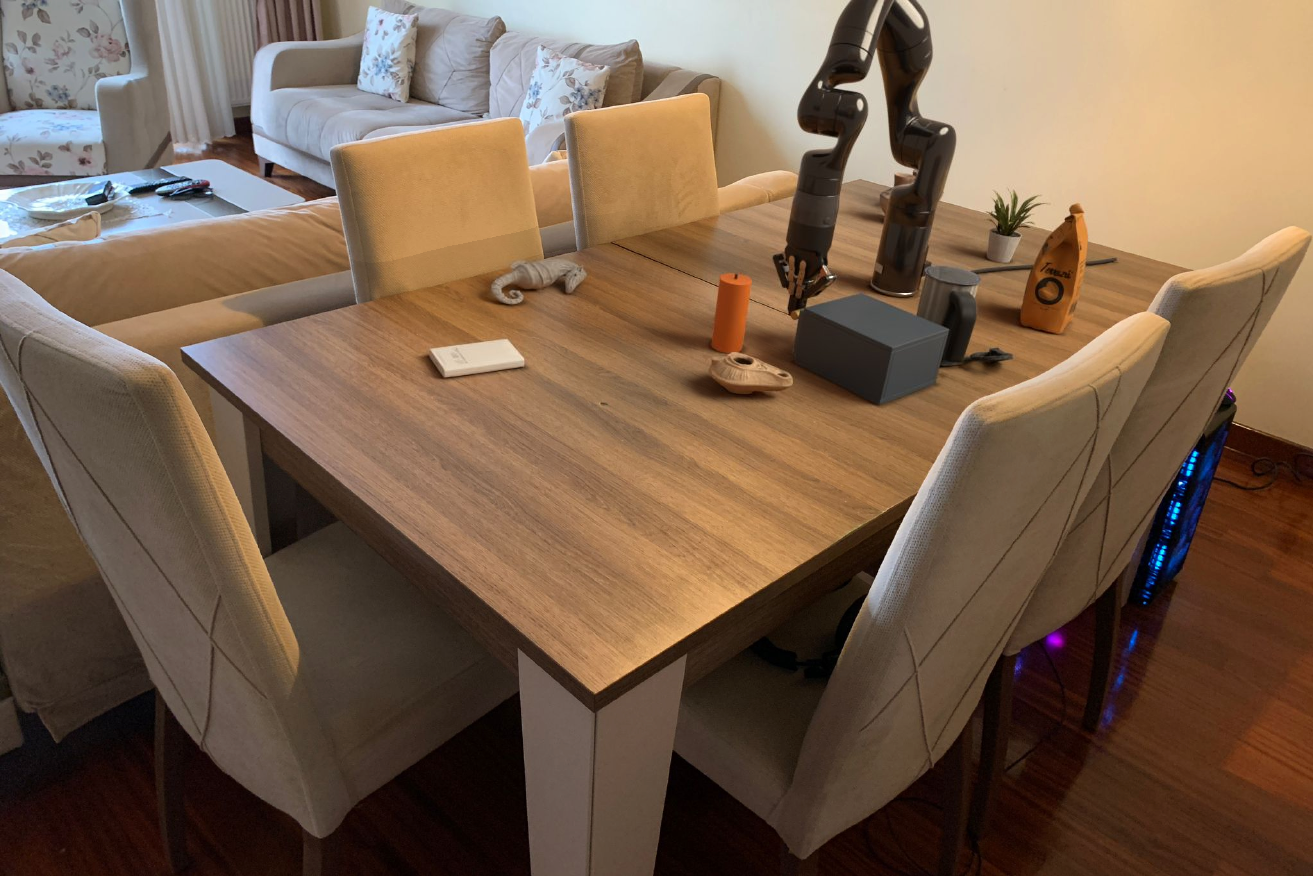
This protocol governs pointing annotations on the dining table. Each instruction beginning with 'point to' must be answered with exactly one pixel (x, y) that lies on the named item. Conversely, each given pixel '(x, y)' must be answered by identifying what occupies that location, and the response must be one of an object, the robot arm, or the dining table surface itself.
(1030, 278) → the coffee package
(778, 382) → the pottery oil lamp
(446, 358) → the hard drive
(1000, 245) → the house plant
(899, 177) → the pottery
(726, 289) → the candle
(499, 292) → the seahorse
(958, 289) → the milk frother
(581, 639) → the dining table surface
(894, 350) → the cabinet
